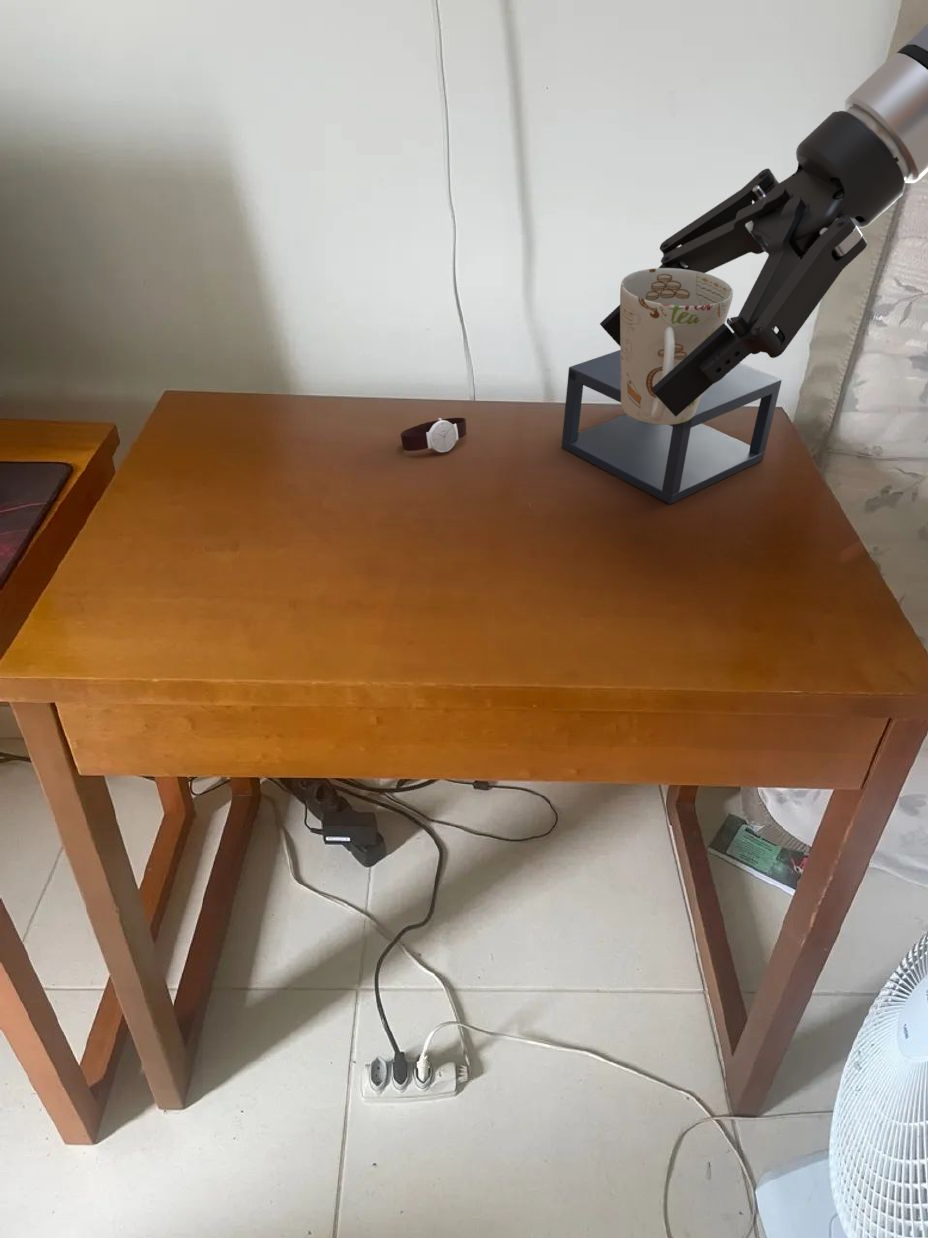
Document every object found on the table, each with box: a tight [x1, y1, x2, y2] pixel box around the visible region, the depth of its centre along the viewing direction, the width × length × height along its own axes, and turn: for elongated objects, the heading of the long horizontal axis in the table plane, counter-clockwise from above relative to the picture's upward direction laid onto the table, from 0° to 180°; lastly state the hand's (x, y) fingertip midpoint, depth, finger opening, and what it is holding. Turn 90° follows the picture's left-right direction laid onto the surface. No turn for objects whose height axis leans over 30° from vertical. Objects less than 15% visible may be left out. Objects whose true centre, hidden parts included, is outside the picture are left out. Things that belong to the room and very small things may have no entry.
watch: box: [400, 417, 467, 453], centre depth 103 cm, size 8×5×4 cm, turn 126°
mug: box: [619, 267, 734, 425], centre depth 75 cm, size 8×13×10 cm, turn 172°
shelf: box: [561, 349, 783, 505], centre depth 101 cm, size 15×15×9 cm
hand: (635, 367), depth 75 cm, fingers closed on mug, 12 cm apart
